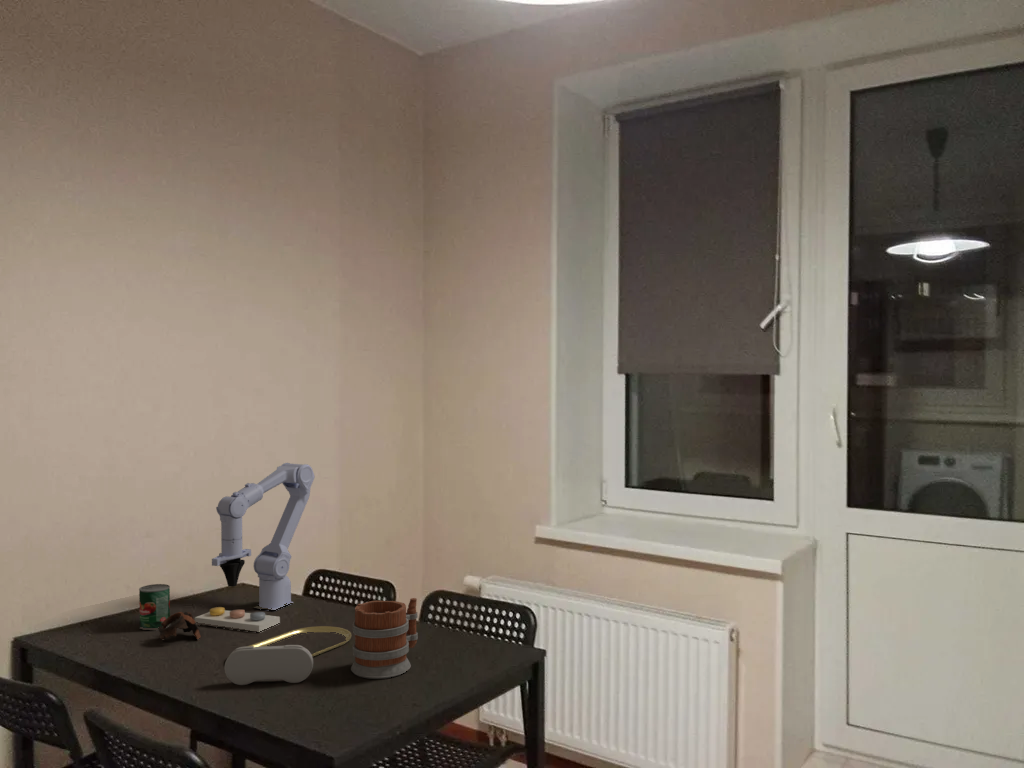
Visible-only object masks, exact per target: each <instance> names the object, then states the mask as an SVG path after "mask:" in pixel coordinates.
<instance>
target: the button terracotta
mask: <svg viewBox="0 0 1024 768" xmlns="http://www.w3.org/2000/svg"><path fill="white" fill-rule="evenodd" d="M229 611H230V617H232V618H239V617H243V616H245V613H246V612H245V609H233V610H229Z"/></svg>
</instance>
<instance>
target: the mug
mask: <svg viewBox="0 0 1024 768" xmlns="http://www.w3.org/2000/svg"><path fill="white" fill-rule="evenodd" d="M417 600H418V599H417V598H415V597H411V598H410V599H409V603H408V607H407V605H406V603H404V602H400V601H397V600H396V601H395V600H371V601H367V602H363V603H357V605H356V606H355V608H354V621H352V633H353V634H354V642H353V644H352V654H353V655H352V656H354V657H355V658H354V661H353V663H352V665H351V667H350V671H351V672H352V673H353V674H354V676H356V677H360V678H362V679H363V678H364V679H367V680H368V679H369V680H370V679H371V680H385V679H390V678H391V677H392V678H394V677H398V676H401V674H402V675H404V674H405V673H407V672H408V671H409V670H410V668H411V666H412V665H411V662H410V660H409V659H408V657H407V654H408V653H409V651H410V649H414V648H415V647H416V644H417V641H418V639H419V638H418V637H419V636H418V634H419V633H418V632H417V619H418V617H419V616H418V615H419V613H418V612H417V602H418V601H417ZM406 671H407V672H406ZM403 673H404V674H403Z"/></svg>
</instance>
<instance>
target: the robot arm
mask: <svg viewBox="0 0 1024 768" xmlns="http://www.w3.org/2000/svg"><path fill="white" fill-rule="evenodd" d="M314 480H315V473H314V470H313V468H312V466H311V465H309V464H306V463H304V464H302V463H290V462H285V463H284V462H283V464H281V465H279V466H277V467H276V469H275V470H274V471H273V472H271V473H270V474H269V475H267V476H266V477H264V478H263V479H262V480H260V481H259V482H258V483H254V482H250V483H249V482H247V483H246V484H244V487H243V488H241V489H239V490H238V491H234V492H233V493H232V494H231V496H228V495H227V496H224V497H222V498H221V499H220V500H219V502H218V504H217V506H216V507H215V508H216V512H217V514H218V515H219V521H220V527H221V529H220V530H221V532H220V535H221V537H220V538H221V541H220V542H221V544H220V545H221V546H220V547H221V548H220V549H221V552H220V553H219V554H218V555H217V556H216V557H213V558H211V566H212V567H213V566H214V567H218V566H219V567H220V568H221V571H222V572H223V574H224V576H225V577H224V578H225V579H226V583H227V586H228V587H233V588H234V587H236V586H237V585H238V581H239V577H240V574H241V571H242V568H243V567H244V565H245V564H246V563H245V562H246V561H245V559H242V558H245V557H251V556H252V549H251V548H244V549H243V517H244V515H245V514H246V512H247V510H248V509H249V508H250V507H253V505H255V504H257V503H258V502H259V501H261V500H262V499H263V497H264V494H265V493H266V492H267V493H268V491H270V490H272V489H274V488H276V487H279V485H283V487H284V488H285V489H286V491H287V492H288V493H289V499H288V500H287V503H286V506H285V508H284V510H283V512H282V514H281V518H280V520H279V521H278V524H277V527H276V529H275V531H274V534H273V537H272V538H271V541H270V543H269V544H267V545H266V546H264V547H263V548H261V551H260V552H259V554H258V555H257V556H256V557H255V558H254V562H253V570H254V572H255V573H256V574H257V578H258V584H259V585H258V587H259V588H258V589H259V590H258V591H259V594H258V595H259V596H258V597H259V600H258V602H259V604H258V605H259V606H260V607H262V608H268V609H271V608H272V609H271V610H276V609H278V608H280V607H283V606H285V605H284V604H286V603H287V604H286V605H288V604H290V603H293V604H294V601H292V584H291V579H290V577H289V576H288V575H287V574H288V573H289V571H290V565H291V564H290V563H291V559H292V554H291V553H290V551H289V547H290V544H291V543H292V540H293V537H294V535H295V532H296V529H297V527H298V526H299V523H300V521H301V518H302V515H303V513H304V511H305V508H306V506H307V503H308V502H309V498H310V495H311V487H312V485H313V482H314ZM290 605H291V604H290ZM288 606H289V605H288ZM283 608H284V607H283ZM278 610H279V609H278ZM276 611H277V610H276Z"/></svg>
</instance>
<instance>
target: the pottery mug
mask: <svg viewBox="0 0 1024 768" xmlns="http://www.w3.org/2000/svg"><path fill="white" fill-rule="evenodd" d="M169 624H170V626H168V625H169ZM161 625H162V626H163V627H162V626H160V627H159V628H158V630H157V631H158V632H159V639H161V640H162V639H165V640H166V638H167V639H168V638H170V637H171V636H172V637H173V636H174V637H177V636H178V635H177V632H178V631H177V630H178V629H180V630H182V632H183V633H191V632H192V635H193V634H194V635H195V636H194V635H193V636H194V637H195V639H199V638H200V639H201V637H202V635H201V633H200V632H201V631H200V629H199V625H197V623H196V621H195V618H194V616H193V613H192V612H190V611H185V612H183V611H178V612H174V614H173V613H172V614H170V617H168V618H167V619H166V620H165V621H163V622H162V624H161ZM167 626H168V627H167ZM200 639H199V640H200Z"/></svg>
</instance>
